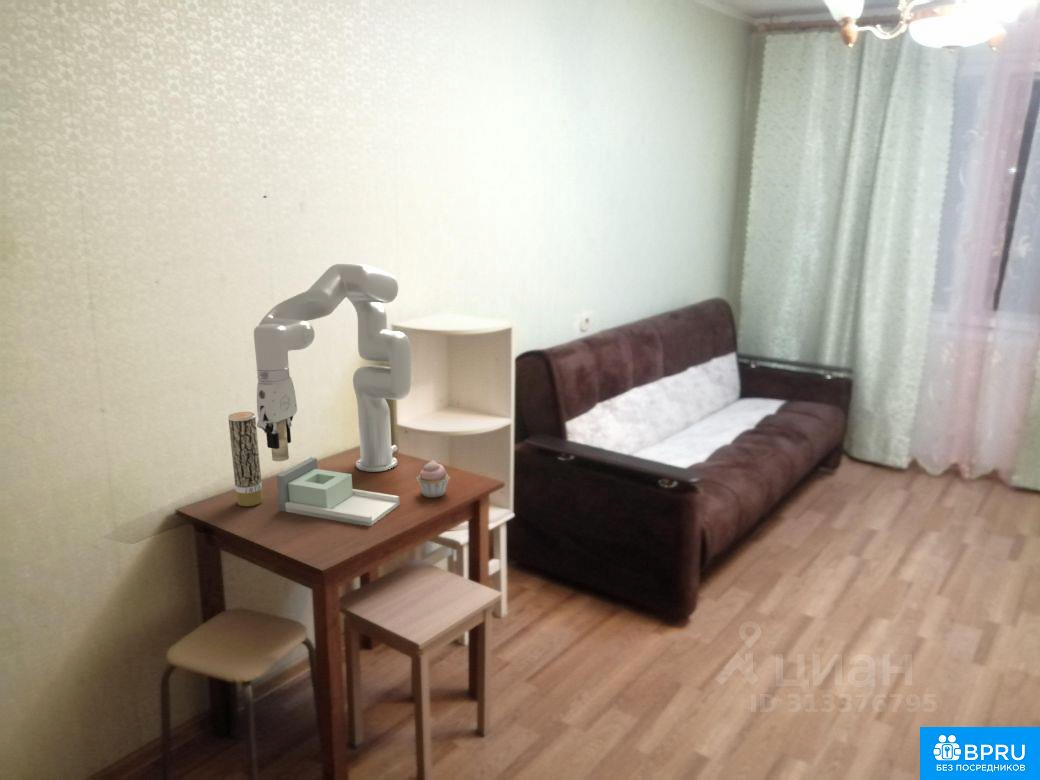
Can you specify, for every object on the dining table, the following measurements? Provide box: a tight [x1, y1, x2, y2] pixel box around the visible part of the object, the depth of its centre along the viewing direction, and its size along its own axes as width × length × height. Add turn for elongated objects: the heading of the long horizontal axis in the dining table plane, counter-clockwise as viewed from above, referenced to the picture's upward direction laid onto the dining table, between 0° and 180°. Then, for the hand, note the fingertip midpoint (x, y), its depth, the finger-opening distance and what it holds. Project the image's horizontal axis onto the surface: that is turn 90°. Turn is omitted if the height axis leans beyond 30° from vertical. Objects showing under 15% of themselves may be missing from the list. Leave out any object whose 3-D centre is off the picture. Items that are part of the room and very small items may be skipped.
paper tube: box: [227, 411, 264, 507], centre depth 212 cm, size 7×7×25 cm
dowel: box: [269, 419, 290, 462], centre depth 197 cm, size 4×4×12 cm
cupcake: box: [416, 459, 450, 499], centre depth 220 cm, size 9×9×10 cm
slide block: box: [288, 468, 353, 509], centre depth 213 cm, size 12×12×6 cm
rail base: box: [276, 457, 400, 527], centre depth 210 cm, size 15×28×10 cm, turn 69°
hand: (279, 444), depth 198 cm, fingers closed on dowel, 3 cm apart
